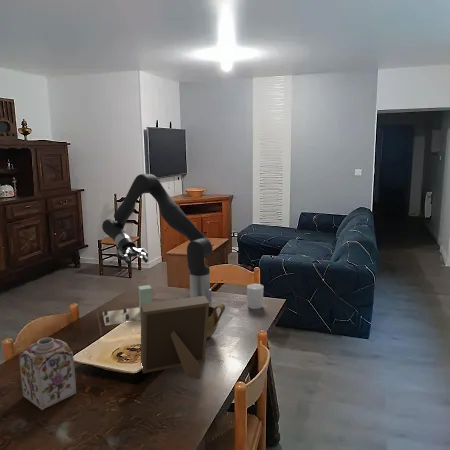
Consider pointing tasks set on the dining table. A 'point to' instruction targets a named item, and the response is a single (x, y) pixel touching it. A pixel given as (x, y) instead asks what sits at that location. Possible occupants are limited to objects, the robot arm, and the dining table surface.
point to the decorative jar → (47, 372)
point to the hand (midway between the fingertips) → (138, 262)
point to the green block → (145, 295)
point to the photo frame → (174, 335)
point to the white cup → (255, 296)
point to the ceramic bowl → (213, 318)
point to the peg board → (121, 316)
